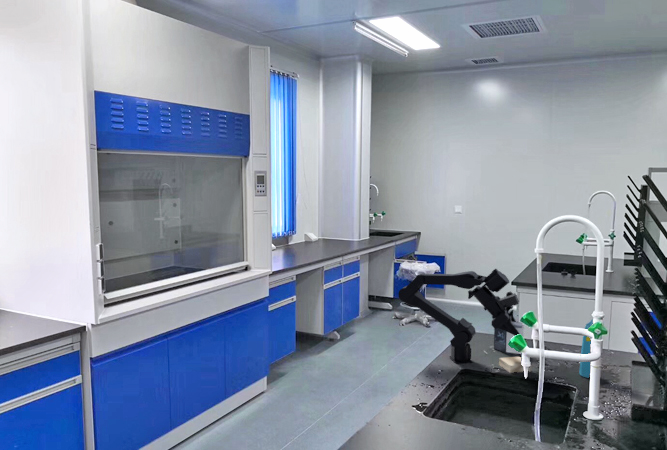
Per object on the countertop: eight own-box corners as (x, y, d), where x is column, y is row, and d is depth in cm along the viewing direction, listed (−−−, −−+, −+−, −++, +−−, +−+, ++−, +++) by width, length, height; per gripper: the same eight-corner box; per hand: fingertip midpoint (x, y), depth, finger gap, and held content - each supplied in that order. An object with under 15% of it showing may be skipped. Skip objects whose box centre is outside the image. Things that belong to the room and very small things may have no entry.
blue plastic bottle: (593, 380, 170) (594, 324, 168) (577, 377, 173) (579, 322, 171) (596, 373, 176) (598, 319, 174) (581, 370, 179) (583, 317, 177)
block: (509, 374, 177) (510, 365, 177) (499, 365, 185) (499, 358, 185) (531, 372, 179) (531, 364, 178) (519, 364, 187) (519, 356, 186)
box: (493, 349, 203) (493, 323, 202) (503, 346, 205) (504, 321, 204) (508, 354, 196) (509, 328, 195) (519, 352, 198) (519, 326, 198)
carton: (506, 352, 180) (506, 324, 179) (507, 347, 185) (508, 320, 184) (522, 354, 178) (523, 326, 177) (523, 349, 183) (524, 322, 182)
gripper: (502, 291, 173) (535, 326, 169) (507, 281, 189) (538, 313, 186) (478, 311, 177) (510, 346, 173) (485, 299, 193) (515, 331, 190)
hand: (519, 333), depth 180 cm, fingers closed on carton, 5 cm apart
